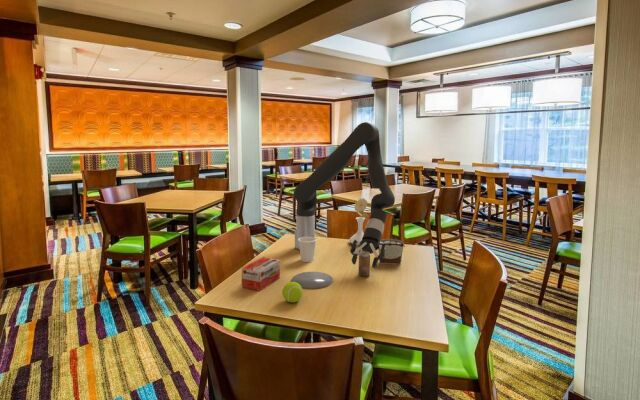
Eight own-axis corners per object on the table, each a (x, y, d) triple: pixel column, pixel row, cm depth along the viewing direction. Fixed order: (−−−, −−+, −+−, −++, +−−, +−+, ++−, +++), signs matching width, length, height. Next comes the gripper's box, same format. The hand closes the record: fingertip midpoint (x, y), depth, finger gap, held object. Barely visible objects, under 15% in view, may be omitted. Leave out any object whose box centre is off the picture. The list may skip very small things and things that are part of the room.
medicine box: (259, 292, 143) (259, 271, 141) (241, 288, 146) (240, 268, 145) (280, 278, 156) (280, 259, 155) (263, 275, 159) (263, 256, 158)
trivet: (284, 283, 150) (284, 281, 150) (304, 271, 164) (304, 269, 164) (321, 291, 143) (321, 289, 143) (339, 277, 157) (339, 275, 157)
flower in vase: (345, 241, 209) (346, 195, 204) (365, 239, 212) (366, 194, 208) (355, 248, 196) (356, 199, 192) (375, 246, 200) (377, 198, 195)
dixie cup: (314, 263, 173) (314, 242, 172) (296, 262, 175) (296, 240, 173) (318, 257, 181) (318, 237, 180) (300, 256, 183) (300, 236, 181)
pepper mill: (356, 276, 158) (357, 252, 157) (360, 272, 162) (361, 249, 161) (367, 278, 156) (367, 254, 155) (371, 274, 160) (371, 251, 159)
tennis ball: (279, 299, 136) (279, 280, 135) (298, 296, 139) (298, 277, 138) (286, 307, 130) (286, 287, 129) (305, 303, 133) (305, 284, 132)
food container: (402, 260, 179) (403, 239, 177) (403, 264, 173) (404, 242, 171) (375, 258, 180) (376, 238, 179) (376, 263, 174) (376, 241, 173)
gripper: (355, 225, 166) (344, 258, 158) (388, 228, 159) (378, 263, 151) (360, 234, 171) (349, 266, 163) (391, 238, 165) (382, 272, 157)
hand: (363, 265), depth 157 cm, fingers open, 8 cm apart
